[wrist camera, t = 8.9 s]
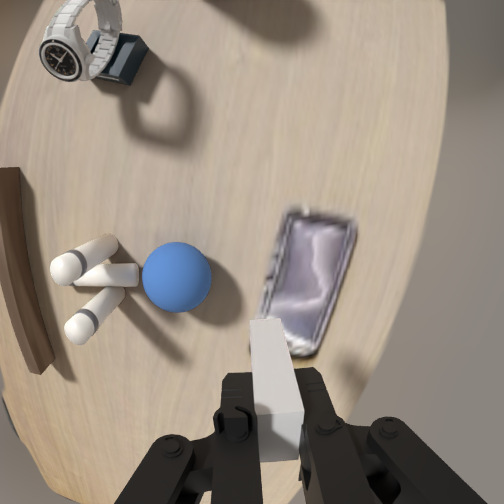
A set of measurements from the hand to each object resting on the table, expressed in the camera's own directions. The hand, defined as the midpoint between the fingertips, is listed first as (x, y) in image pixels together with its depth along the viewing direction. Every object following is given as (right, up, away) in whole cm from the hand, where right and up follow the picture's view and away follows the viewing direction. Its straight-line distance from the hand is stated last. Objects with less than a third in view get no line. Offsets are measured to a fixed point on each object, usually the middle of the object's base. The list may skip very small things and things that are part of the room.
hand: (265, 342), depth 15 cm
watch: (-14, +23, +8) cm, 28 cm away
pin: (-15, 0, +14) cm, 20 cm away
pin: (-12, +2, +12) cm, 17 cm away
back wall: (-27, +2, +13) cm, 30 cm away
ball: (-7, +2, +10) cm, 13 cm away
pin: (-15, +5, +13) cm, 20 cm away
